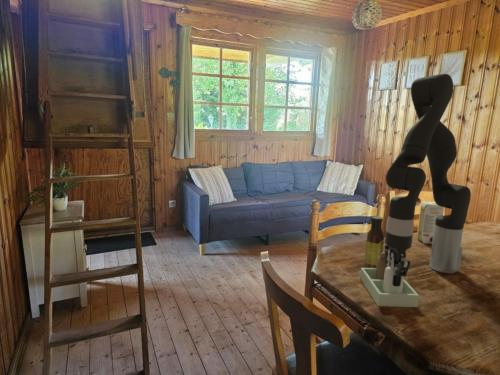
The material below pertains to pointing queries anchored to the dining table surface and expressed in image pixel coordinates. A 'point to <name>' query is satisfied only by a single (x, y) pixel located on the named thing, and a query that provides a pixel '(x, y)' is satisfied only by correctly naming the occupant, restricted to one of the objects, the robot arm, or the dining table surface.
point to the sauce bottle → (374, 242)
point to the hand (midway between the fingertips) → (393, 282)
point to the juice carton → (428, 221)
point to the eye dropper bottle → (391, 281)
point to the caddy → (374, 285)
